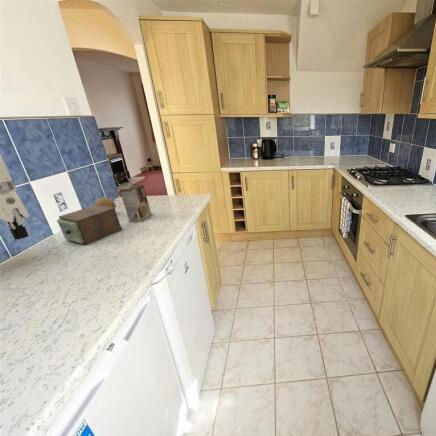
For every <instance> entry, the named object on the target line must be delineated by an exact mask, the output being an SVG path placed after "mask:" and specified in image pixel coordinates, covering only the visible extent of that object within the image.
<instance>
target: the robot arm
mask: <svg viewBox="0 0 436 436" xmlns="http://www.w3.org/2000/svg"><path fill="white" fill-rule="evenodd" d="M16 191H17V188H16V186H15V183H14V181H13V179H12V176H11V174H10V172H9V170H8V167H7V166H6V163H5V161H4V159H3V156H2V155H1V154H0V220H2V221H4V222H5V224H6V225H7V227H8V229H9V231H10V233H11V235H12V237H13V239H14V240H18V241H19V240H22V239H25V238H28V237H29V233H28V231H27V229H26V227H25V221H24V220H23V219H29V218H30V215H29V213H28V211H27V209H26V207H25V205H24V203H23V201H22V200H21V198H20V196H19V195H18V194H17V192H16Z"/></svg>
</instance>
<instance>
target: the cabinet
mask: <svg viewBox="0 0 436 436" xmlns="http://www.w3.org/2000/svg"><path fill="white" fill-rule="evenodd" d="M58 219H63V220H69V221H73V222H77V225H78V227H79V229H80V232H81V234H82V237H83V239H84V241H85V243H82V244H83V245H90V244H92V243H94V242H96V241H98V240H101V239H103V238H105V237H108V236H111V235H112V234H115V233H117V232H120V231H123V228H122V226H121V225H122V224H121V223H120V220H119V217H118V214H117V211H116V208H112V207H106V206H101V205H95V204H94V205H91V206H88V207H85V208H81V209H77V210H75V211H72V212H68V213H65V214H61V215H59V216H58Z"/></svg>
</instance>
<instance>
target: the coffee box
mask: <svg viewBox="0 0 436 436" xmlns="http://www.w3.org/2000/svg"><path fill="white" fill-rule="evenodd" d="M144 186H145V185H144V184H130V185H128V186H126V187H124V188H122V189H119V190H118V191H119V194H120V197H121V199H122V203H123V205H124V208H125V212H126V215H127V218H128V221H129V222H143V221H145V220H146V219H147V218H148V217H150V216H152V211H151V207H150V204H149V201H148V197H147V193H146V191H145V187H144Z"/></svg>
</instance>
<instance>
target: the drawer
mask: <svg viewBox="0 0 436 436" xmlns="http://www.w3.org/2000/svg"><path fill="white" fill-rule="evenodd" d="M56 222H57V224H58V226H59V228H60V231H61V232H62V235H63V237H64V239H65V240H67V241H71V242H73V243H74V242H75V243H77V244H81V245H82V244H83V243H85V241H84V239H83V237H82V234H81V232H80V229H79V227H78V225H77V223H76V222H73V221H69V220H63V219H59V218H58V219H56Z"/></svg>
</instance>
